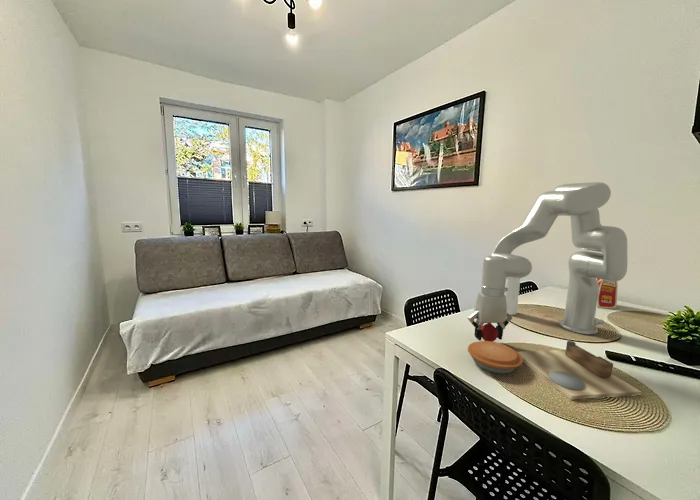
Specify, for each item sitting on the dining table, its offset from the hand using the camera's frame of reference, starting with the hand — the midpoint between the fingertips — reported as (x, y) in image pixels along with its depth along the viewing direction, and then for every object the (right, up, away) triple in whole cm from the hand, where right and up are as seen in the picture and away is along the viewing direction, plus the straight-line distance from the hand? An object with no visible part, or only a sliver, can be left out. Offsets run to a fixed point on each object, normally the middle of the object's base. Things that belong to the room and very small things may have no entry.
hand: (488, 337), depth 103 cm
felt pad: (+10, -5, -24) cm, 26 cm away
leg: (+22, -3, -16) cm, 27 cm away
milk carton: (+76, +4, +40) cm, 87 cm away
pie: (-5, -4, -13) cm, 14 cm away
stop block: (+24, -4, -19) cm, 31 cm away
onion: (0, -2, 0) cm, 2 cm away
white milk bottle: (+23, +3, +29) cm, 38 cm away
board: (+16, -5, -18) cm, 24 cm away
